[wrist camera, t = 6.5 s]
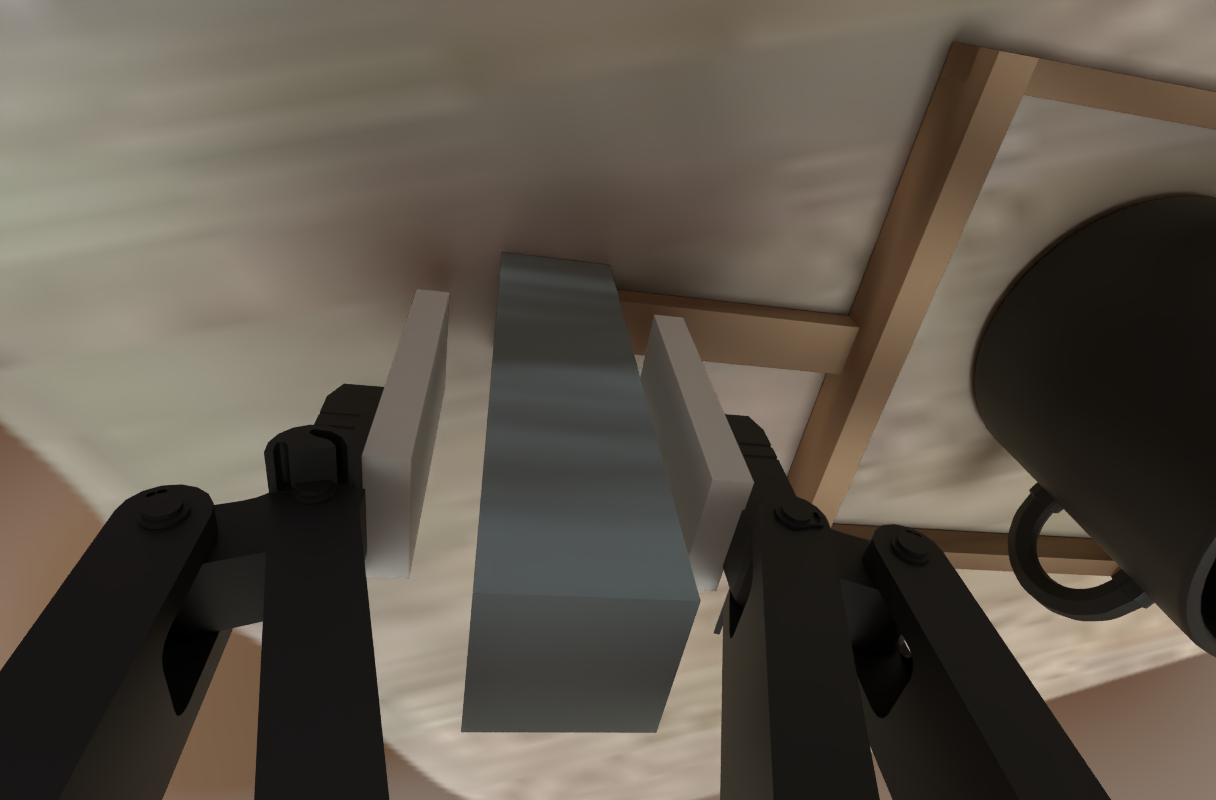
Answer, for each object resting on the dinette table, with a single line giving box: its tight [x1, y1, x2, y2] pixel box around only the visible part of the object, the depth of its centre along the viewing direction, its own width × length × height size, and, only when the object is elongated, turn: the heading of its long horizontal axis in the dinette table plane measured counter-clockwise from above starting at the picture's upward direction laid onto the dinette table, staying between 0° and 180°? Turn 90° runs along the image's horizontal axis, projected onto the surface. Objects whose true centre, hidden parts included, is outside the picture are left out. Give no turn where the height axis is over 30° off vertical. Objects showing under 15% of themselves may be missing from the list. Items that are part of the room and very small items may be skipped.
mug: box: [975, 196, 1216, 657], centre depth 19 cm, size 9×12×9 cm
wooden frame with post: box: [461, 42, 1216, 733], centre depth 17 cm, size 17×26×12 cm, turn 81°
